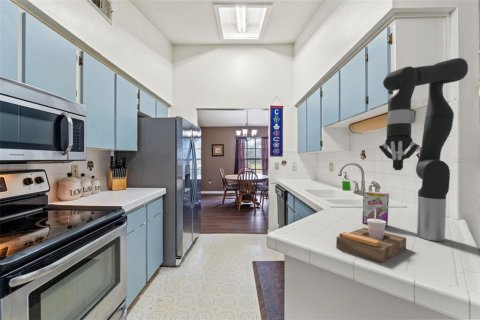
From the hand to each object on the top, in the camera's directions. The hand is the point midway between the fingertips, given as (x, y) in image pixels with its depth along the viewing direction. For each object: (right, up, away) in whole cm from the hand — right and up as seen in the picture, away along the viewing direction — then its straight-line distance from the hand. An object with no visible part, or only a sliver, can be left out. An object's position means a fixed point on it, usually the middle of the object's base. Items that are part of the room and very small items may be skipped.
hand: (397, 170), depth 86 cm
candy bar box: (+10, -29, +32) cm, 45 cm away
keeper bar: (-17, -24, -5) cm, 30 cm away
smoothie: (-8, -29, +1) cm, 30 cm away
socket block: (-10, -29, -1) cm, 30 cm away
